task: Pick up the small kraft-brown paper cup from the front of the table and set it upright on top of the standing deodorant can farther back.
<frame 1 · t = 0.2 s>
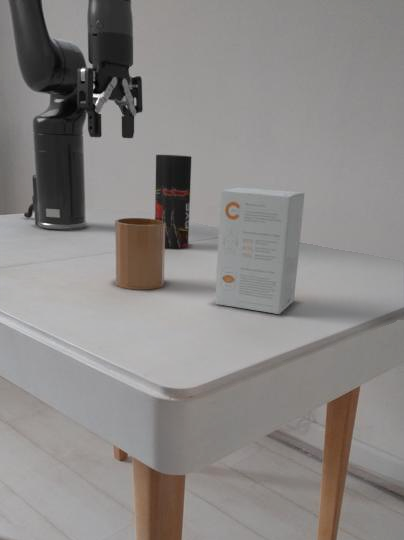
hand: (112, 137, 100), 17 cm above the table, tool pointing down, fingers open, 8 cm apart
small box: (254, 305, 68), on the table
cup: (139, 283, 74), on the table
deodorant: (171, 246, 100), on the table
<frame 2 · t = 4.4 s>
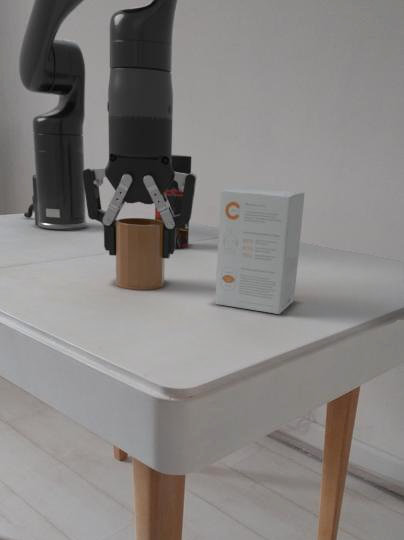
hand: (139, 255, 72), 4 cm above the table, tool pointing down, fingers closed on cup, 6 cm apart
cup: (139, 283, 74), on the table, touching gripper
everything else where it was.
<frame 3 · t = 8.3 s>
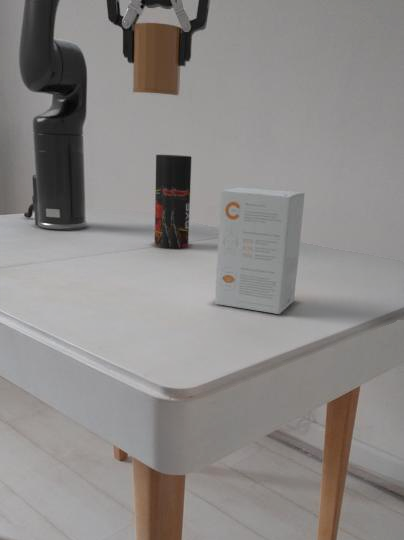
hand: (156, 63, 76), 27 cm above the table, tool pointing down, fingers closed on cup, 6 cm apart
cup: (156, 94, 77), point 23 cm above the table, touching gripper
everything else where it was.
when the fingers open (19 cm above the table, at t = 12.6 s): cup stays where it is, resting on deodorant.
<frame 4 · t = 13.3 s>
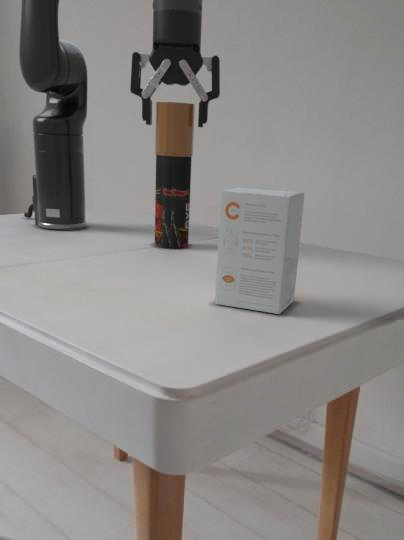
hand: (174, 126, 93), 20 cm above the table, tool pointing down, fingers open, 8 cm apart
cup: (173, 155, 94), point 15 cm above the table, touching deodorant
deodorant: (171, 246, 100), on the table, touching cup
everything else where it was.
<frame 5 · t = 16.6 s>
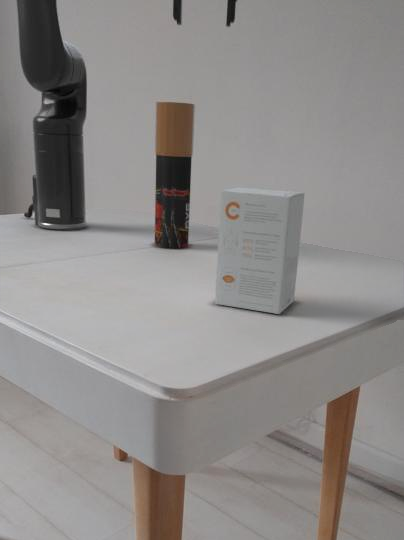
hand: (203, 25, 97), 36 cm above the table, tool pointing down, fingers open, 8 cm apart
nothing on the table moved.
at the end: cup 0.0 cm off-centre on the deodorant, point 15.2 cm above the deodorant's base; cup tilted 0°; deodorant tilted 0° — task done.
